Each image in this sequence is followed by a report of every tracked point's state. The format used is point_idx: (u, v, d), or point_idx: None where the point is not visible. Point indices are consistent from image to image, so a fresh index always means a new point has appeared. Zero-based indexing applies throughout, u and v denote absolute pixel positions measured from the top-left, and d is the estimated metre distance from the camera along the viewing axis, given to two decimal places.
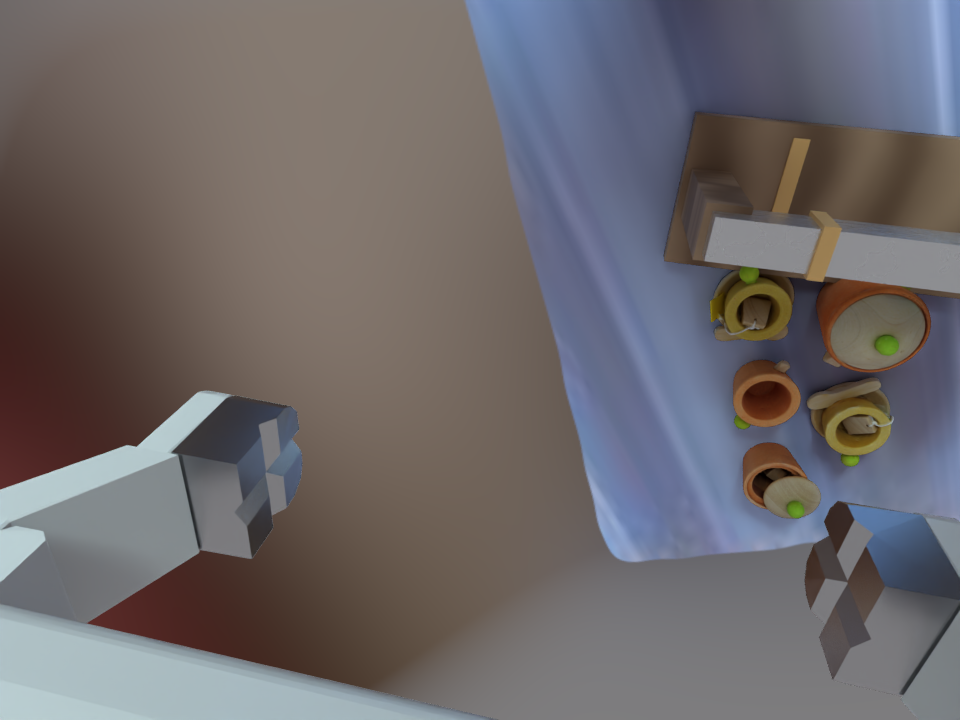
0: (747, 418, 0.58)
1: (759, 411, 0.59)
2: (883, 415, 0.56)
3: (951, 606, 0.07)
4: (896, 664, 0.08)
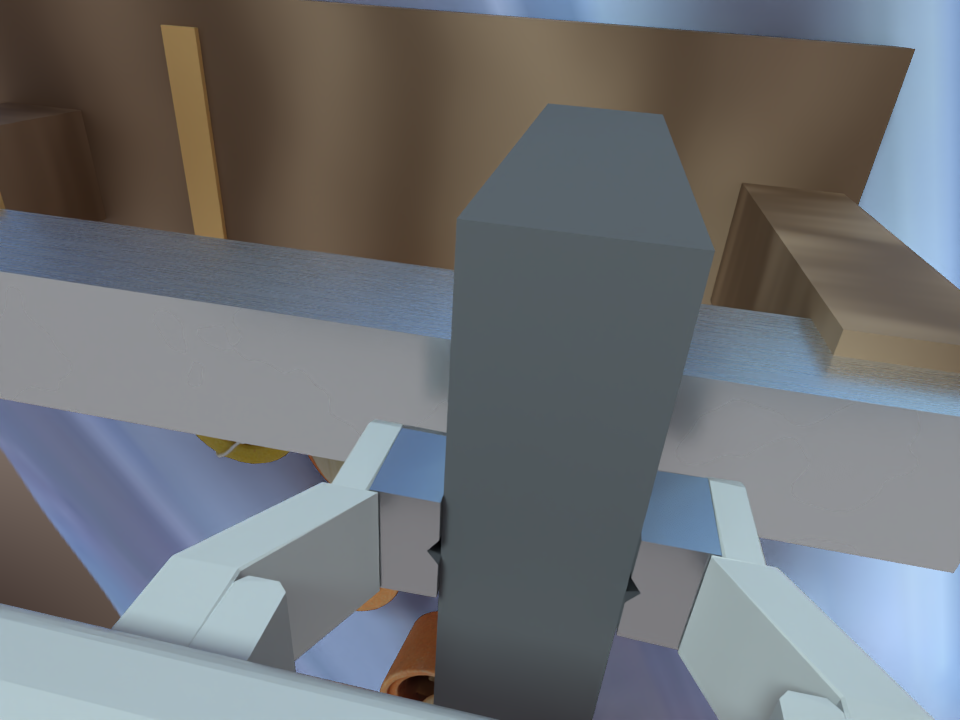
0: None
1: None
2: None
3: (707, 560, 0.08)
4: (668, 618, 0.08)
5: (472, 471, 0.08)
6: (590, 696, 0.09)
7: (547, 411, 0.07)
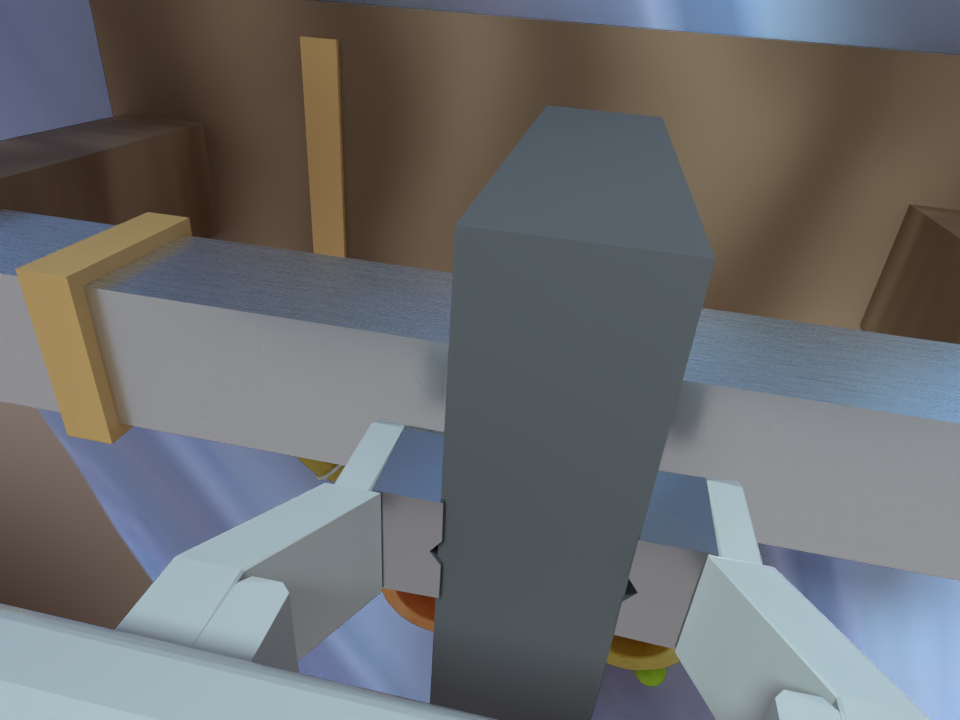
0: (422, 622, 0.29)
1: None
2: None
3: (704, 560, 0.08)
4: (664, 617, 0.08)
5: (470, 478, 0.08)
6: (587, 703, 0.09)
7: (544, 417, 0.07)
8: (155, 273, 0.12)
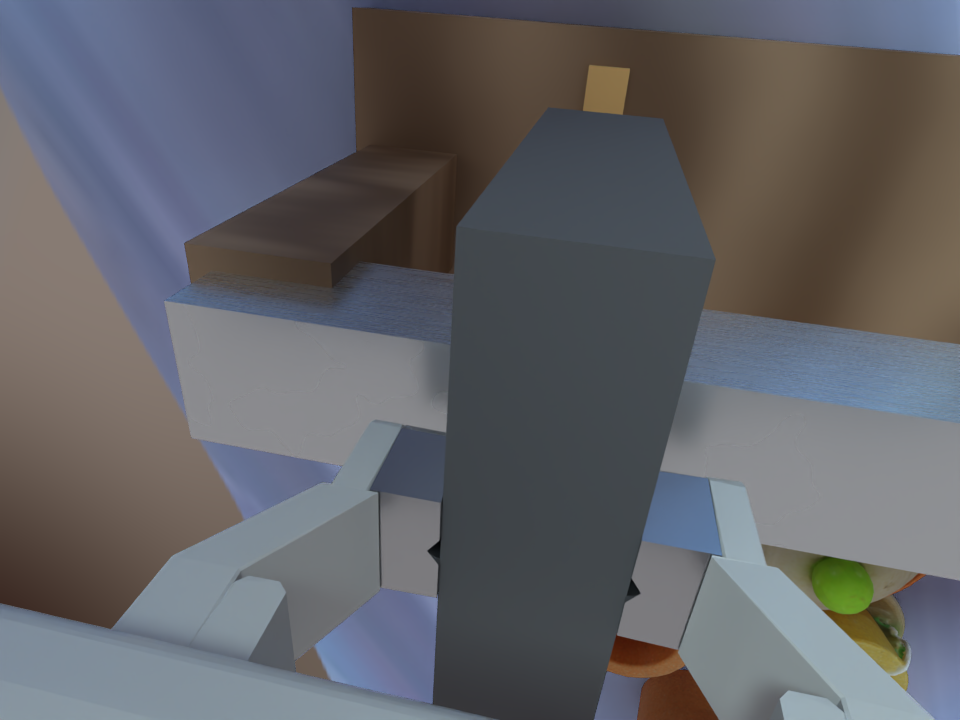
0: None
1: (630, 643, 0.29)
2: (885, 654, 0.25)
3: (707, 560, 0.08)
4: (668, 618, 0.08)
5: (472, 479, 0.08)
6: (590, 703, 0.09)
7: (546, 419, 0.07)
8: None
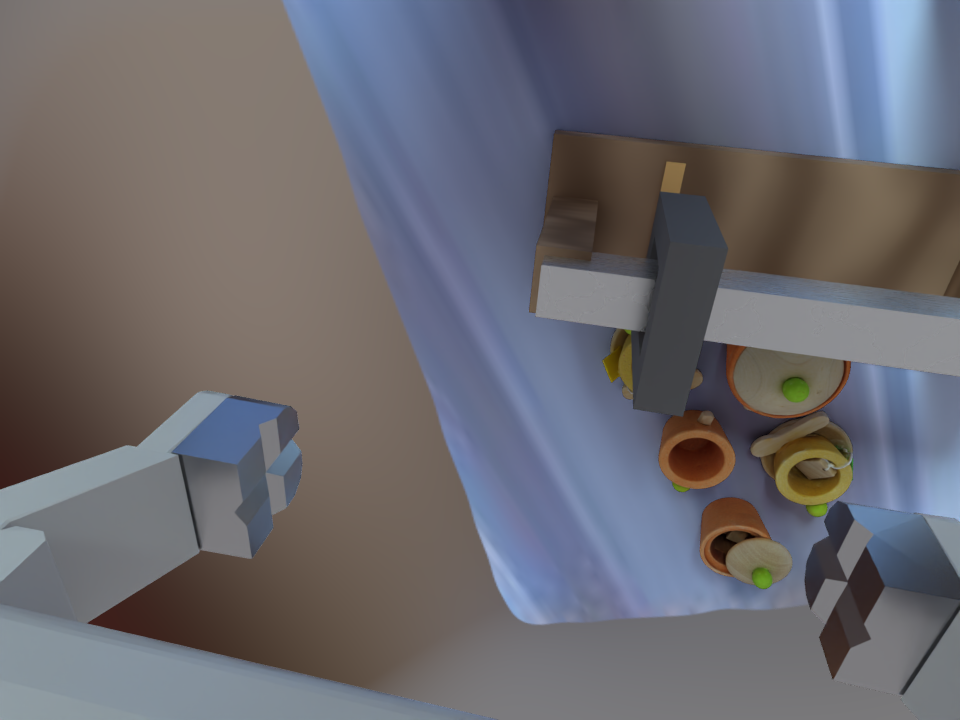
0: (681, 481, 0.50)
1: (695, 471, 0.50)
2: (837, 456, 0.47)
3: (950, 606, 0.07)
4: (896, 664, 0.08)
5: (663, 307, 0.30)
6: (689, 383, 0.31)
7: (686, 288, 0.29)
8: None
